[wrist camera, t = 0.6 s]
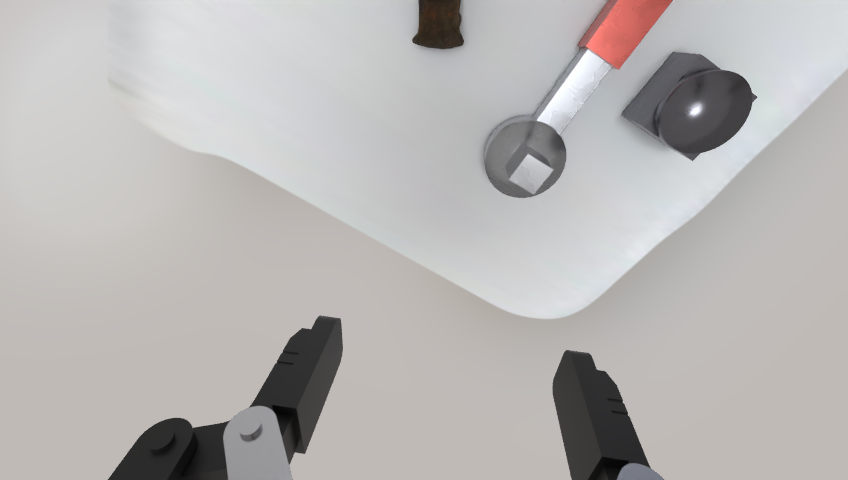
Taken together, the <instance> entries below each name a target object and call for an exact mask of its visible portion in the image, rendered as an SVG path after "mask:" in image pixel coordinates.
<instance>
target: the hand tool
mask: <svg viewBox="0 0 848 480" xmlns="http://www.w3.org/2000/svg"><path fill="white" fill-rule="evenodd" d="M460 1H461V0H419V29H418V33H417V34H416V35H415V37H414V38H413V40H412V41H413V43H415V44H417V45H421V46H425V47H429V48H439V49H447V48H453V47H457V46H462V45H463V43H464V40H463V38H462V35H461V33H460V30H459V26H460V23H461V15H460V13H459V8H460Z"/></svg>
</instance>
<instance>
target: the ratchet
mask: <svg viewBox="0 0 848 480" xmlns="http://www.w3.org/2000/svg"><path fill="white" fill-rule="evenodd" d="M672 1H673V0H609V1H608V2H607V4H606V5H605V6H604V8H603V9H602V11H601V12H600V14H599V15H598V16H597V18H596V19H595V21H594V22H593V24H592V25H591V26H590V28H589V29H588V31H587V32H586V34H585V35H584V36H583V38H582V39H581V41H580V42H579V43H578V46H579V47H581V49H580V50H579V52H578V53H577V55H576V56H575V57H574V59H573V60H572V62H571V63H570V64H569V66H568V67H567V69H566V70H565V71H564V73H563V74H562V76H561V77H560V79H559V80H558V81H557V83H556V84H555V86H554V87H553V88H552V90H551V91H550V93H549V94H548V95H547V97H546V98H545V100H544V101H543V103H542V104H541V105H540V107H539V108H538V110H537V111H536V112H535V114H534V115H533V116H530V115H521V116H516V117H513V118H510V119H508V120H506V121H504V122H503V123H501V124H500V125H499V126H497V127H496V128H495V130H494V131H493V132H492V133H491V135H490V136H489V138H488V140H487V143H486V146H485V151H484V159H485V167H486V172H487V176H488V178H489V180H490V182H491V183H492V184H493V186H494V187H495V188H496V189H498V190H499V191H500V192H502V193H504V194H506V195H508V196H512V197H518V198H526V197H532V196H535V195H538V194H540V193H542V192H544V191H546V190H547V189H549V188H550V187H551V186H552V185H553V184H554V183H555V182H556V181H557V180H558V178H559V177H560V175H561V173H562V171H563V169H564V166H565V162H566V149H565V145H564V142H563V140H562V138H561V137H560V133H561V132H562V131H563V130H564V128H565V127H566V126H567V124H568V123H569V122H570V120H571V119H572V118H573V117H574V115H575V114H576V113H577V111H578V110H579V109H580V107H581V106H582V105H583V104H584V102H585V101H586V100H587V98H588V97H589V96H590V94H591V93H592V92H593V91H594V89H595V88H596V87H597V85H598V84H599V83H600V81H601V80H602V79H603V78H604V76H605V75H606V74H607V72H608V71H609V70H610V68H615V69H619V68H620V67H621V66H622V65H623V63H624V62H625V61H626V59H627V58H628V57H629V56H630V54H631V53H632V52H633V50H634V49H635V48H636V47H637V45H638V44H639V43H640V42H641V40H642V39H643V38H644V36H645V35H646V34H647V33H648V31H649V30H650V29H651V27H652V26H653V25H654V24H655V22H656V21H657V20H658V19H659V17H660V16H661V15H662V13H663V12H664V11H665V10H666V8H667V7H668V6H669V4H670V3H671V2H672Z"/></svg>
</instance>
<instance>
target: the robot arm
mask: <svg viewBox="0 0 848 480" xmlns="http://www.w3.org/2000/svg"><path fill="white" fill-rule="evenodd" d="M342 351H343V344H342V329H341V320H340V318H333V317H326V316H319V317H318V318H317V319H316V321H315V323H314V325H313V327H312V329H304V328H302V329H301V330H299V331H298V332H297V333H296V334H295V335H294V336H292V337H291V338H290V340H289V341H288V343H287V345H286V346H285V348H284V350H283V353H282V354H281V355H280V357H279V359H278V360H277V363H276V364H275V365H274V367H273V369H272V371H271V372H270V374H269V376H268V378H267V379H266V381H265V383H264V384H263V386H262V388H261V390H260V392H259V393H258V395H257V397H256V398H255V400H254V402H253V403H252V405H251V406H250V407H249V408H247V409H245V410H243V411H241V412H239V413H238V414H237V415H236V416H234V417H233V419H231V420H230V421H227V422H224V423H220V424H214V425H208V426H202V427H196V428H192V426H191V424H190V423H189V422H188V421H187V420H185V419H181V418H171V419H167V420H164V421H161V422H159V423H157V424H155V425H154V426H152V427H151V428H149V429H148V430H146V431H145V432H144V433H143V434H142V435H141V436H140V437H139V439H138V440H137V441H136V442H135V444H134V445H133V447H132V448H131V449H130V451H129V452H128V453H127V455H126V456H125V457H124V459H123V460H122V461H121V463H120V464H119V465H118V467H117V468H116V470H115V471H114V472H113V473H112V475H111V476H110V478H109V479H108V480H293V479H292V475H291V471H290V467H289V464H290V462H291V460H292V458H293V455H294V453H295V452H297V453H303V454H305V452H306V450H307V447H308V445H309V442H310V439H311V437H312V434H313V432H314V429H315V426H316V424H317V421H318V419H319V416H320V414H321V411H322V409H323V406H324V403H325V401H326V398H327V395H328V393H329V391H330V388H331V385H332V383H333V380H334V378H335V375H336V372H337V370H338V367H339V365H340V362H341V357H342ZM553 397H554V402H555V406H556V410H557V415H558V420H559V424H560V429H561V433H562V438H563V442H564V447H565V451H566V456H567V460H568V465H569V469H570V474H571V478H572V480H664V479H663V478H662V477H661V476H660V475H659V474H658V473H656V472H655V471H654V470H652V469H651V468H650V466H649V464H648V461H647V459H646V457H645V454H644V452H643V449H642V447H641V444H640V442H639V439H638V437H637V434H636V432H635V429H634V427H633V424H632V422H631V420H630V417H629V416H628V412H627V410H626V407H625V405H624V404H623V402H622V401H623V400H622V397H621V395H620V392H619V390H618V388H617V385H616V384H615V383H614V381H613V380H612V379H611V378H610V377H609V375H608V374H607V373H606V372H605V371H599V370H597V369H596V367H595V364H594V361H593V359H592V356H591V355H590V354H589V353H584V352H577V351H569V350H566V351H565V352H564V354H563V357H562V359H561V362H560V364H559V367H558V369H557V372H556V374H555V377H554V380H553Z"/></svg>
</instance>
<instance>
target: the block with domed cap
mask: <svg viewBox="0 0 848 480" xmlns="http://www.w3.org/2000/svg"><path fill="white" fill-rule="evenodd" d="M756 98H757V96H755V95H754V94H753V93H752V91H751V88H750V86H749V84H748V82H747V81H746V80H745V79H744V78H743V77H742V76H740V75H739V74H737V73H734V72H730V71H725V70H721V69H720V68H718V67H717V66H716V65H714V64H713V63H712V62H710V61H709V60H708V59H706V58H705V57H704V56H702V55H700V54H689V53H678V52H673V53H672V54H671V55H670V56H669V58H668V59H667V60H666V61H665V62H664V64H663V65H662V66H661V67H660V68H659V70H658V71H657V72H656V73H655V74H654V76H653V77H652V78H651V79H650V80H649V82H648V83H647V84H646V85H645V86H644V87H643V89H642V90H641V91H640V92H639V93H638V95H637V96H636V97H635V98H634V99H633V101H632V102H631V103H630V104H629V105H628V107H627V108H626V109H625V110H624V111H623V113H622V114H621V115H622V116H624V117H625V118H627V119H628V120H629V121H631V122H632V123H634V124H635V125H637V126H638V127H640V128H641V129H643V130H644V131H646V132H647V133H649V134H650V135H651V136H653V137H654V138H656V139H657V140H659V141H660V142H662V143H663V144H665V145H666V146H668V147H669V148H671V149H673V150H674V151H676V152H678V153H680V154H681V155H683V156H685V157H687V158H688V159H690V160H692V161H693V160H694V159H695V158H696V157H697V156H698V155H699V154H700V153H703V152H706V151H709V150H712V149H715V148H717V147H719V146H720V145H722V144H724V143H725V142H727V141H728V140H729V139H731V138H732V137H733V136H734V135H735V134H736V133H737V132H738V131H739V130H740V128H741V127H742V126H743V124H744V123H745V121H746V119H747V117H748V115H749V113H750V110H751V106H752V102H753V101H754V100H755V99H756ZM654 120H655V122H654Z"/></svg>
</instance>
